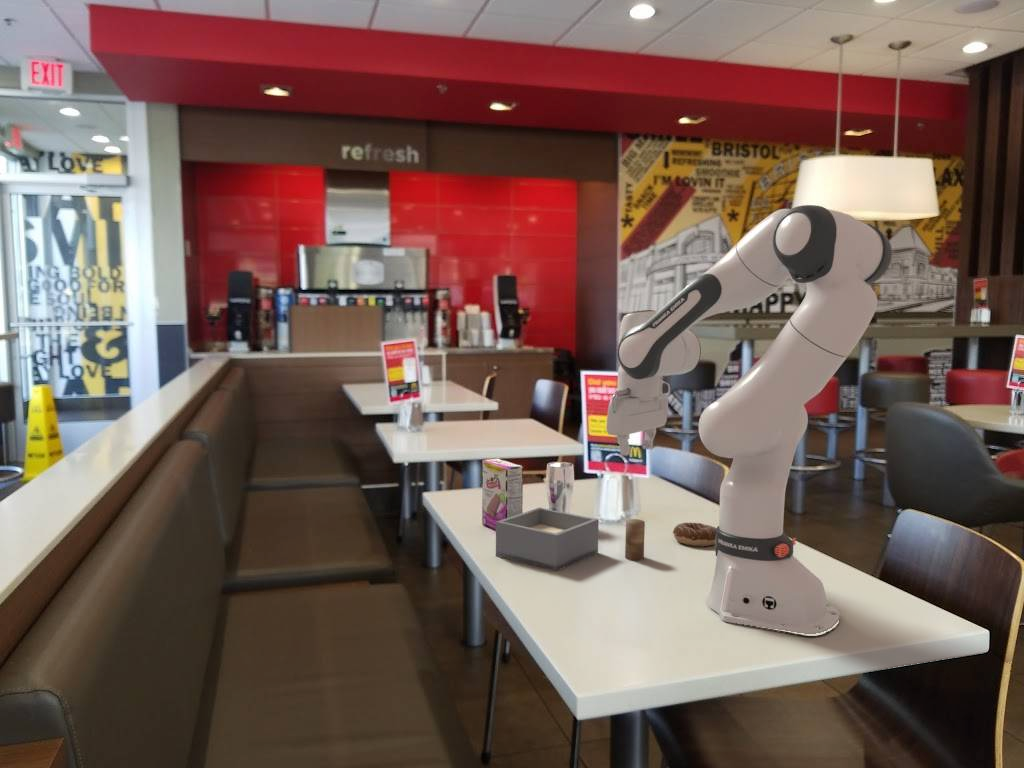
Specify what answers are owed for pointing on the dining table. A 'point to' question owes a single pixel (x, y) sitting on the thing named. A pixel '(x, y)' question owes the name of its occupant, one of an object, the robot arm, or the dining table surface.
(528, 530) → the open-top box
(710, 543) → the donut
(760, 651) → the dining table surface
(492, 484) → the candy bar box
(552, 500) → the beer glass
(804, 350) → the robot arm
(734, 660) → the dining table surface
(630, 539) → the peg
